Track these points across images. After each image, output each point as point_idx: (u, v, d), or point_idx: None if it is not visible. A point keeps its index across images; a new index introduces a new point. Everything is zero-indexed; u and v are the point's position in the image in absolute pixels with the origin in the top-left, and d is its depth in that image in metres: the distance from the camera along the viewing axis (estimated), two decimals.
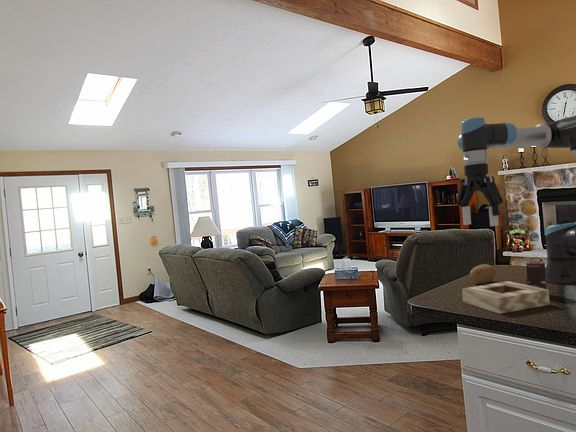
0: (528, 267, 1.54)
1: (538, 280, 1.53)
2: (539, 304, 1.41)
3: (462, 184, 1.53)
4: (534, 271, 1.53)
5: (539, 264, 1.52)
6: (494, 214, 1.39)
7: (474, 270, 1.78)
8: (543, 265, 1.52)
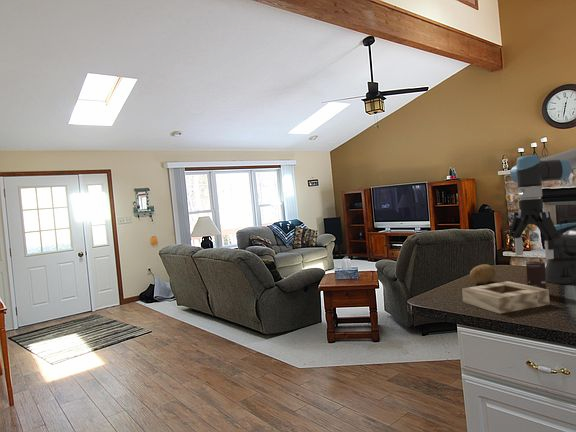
0: (528, 267, 1.54)
1: (538, 280, 1.53)
2: (539, 304, 1.41)
3: (515, 217, 1.60)
4: (534, 271, 1.53)
5: (539, 264, 1.52)
6: (550, 248, 1.47)
7: (474, 270, 1.78)
8: (543, 265, 1.52)
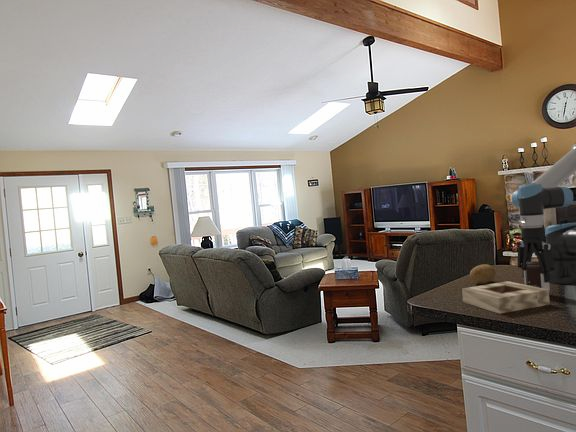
0: (528, 267, 1.54)
1: (538, 280, 1.53)
2: (539, 304, 1.41)
3: (519, 246, 1.60)
4: (534, 271, 1.53)
5: (539, 264, 1.52)
6: (546, 281, 1.50)
7: (474, 270, 1.78)
8: None
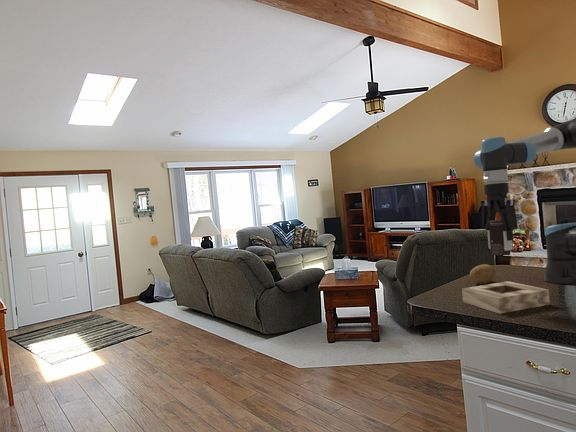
0: (491, 225, 1.47)
1: (501, 238, 1.45)
2: (539, 304, 1.41)
3: (482, 205, 1.52)
4: (496, 229, 1.46)
5: (502, 222, 1.45)
6: (508, 239, 1.43)
7: (474, 270, 1.78)
8: None
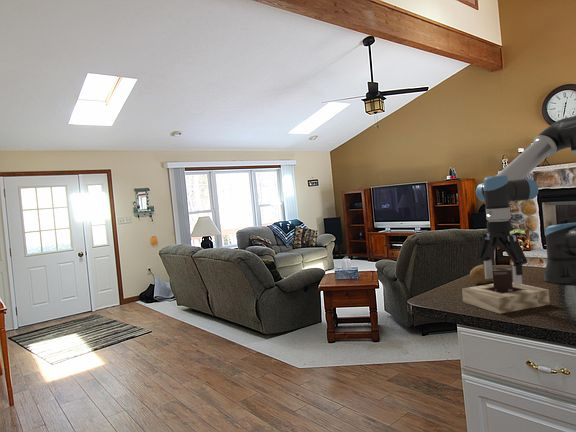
0: (495, 274, 1.47)
1: (505, 288, 1.46)
2: (539, 304, 1.41)
3: (484, 238, 1.53)
4: (500, 279, 1.46)
5: (506, 271, 1.45)
6: (518, 273, 1.40)
7: (474, 270, 1.78)
8: (510, 272, 1.45)
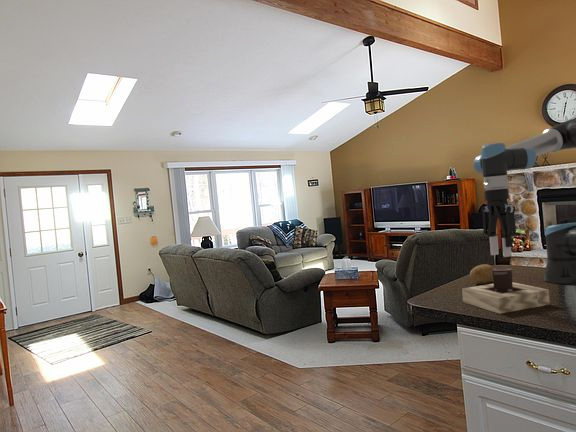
0: (495, 274, 1.47)
1: (505, 288, 1.46)
2: (539, 304, 1.41)
3: (483, 211, 1.52)
4: (500, 279, 1.46)
5: (506, 271, 1.45)
6: (507, 245, 1.43)
7: (474, 270, 1.78)
8: (510, 272, 1.45)
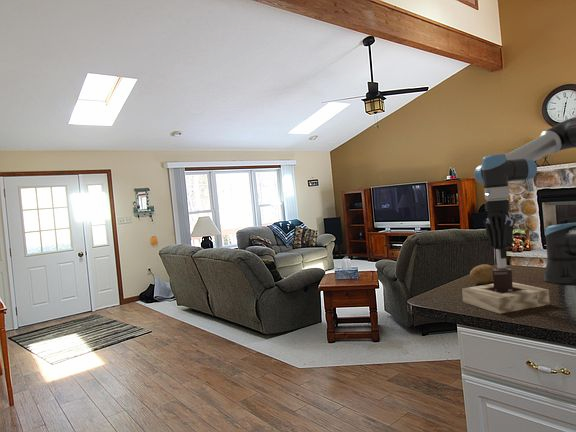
0: (495, 274, 1.47)
1: (505, 288, 1.46)
2: (539, 304, 1.41)
3: (485, 224, 1.52)
4: (500, 279, 1.46)
5: (506, 271, 1.45)
6: (502, 257, 1.46)
7: (474, 270, 1.78)
8: (510, 272, 1.45)
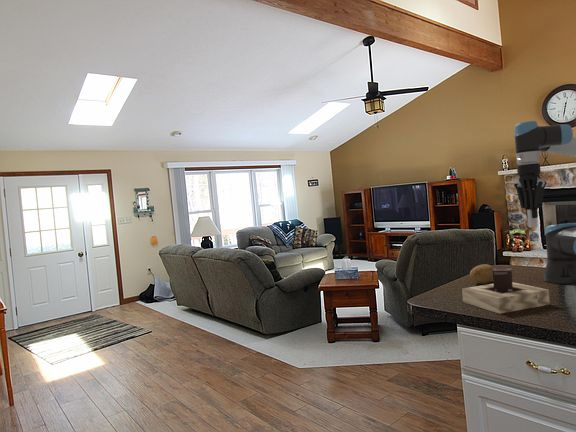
0: (495, 274, 1.47)
1: (505, 288, 1.46)
2: (539, 304, 1.41)
3: (517, 187, 1.63)
4: (500, 279, 1.46)
5: (506, 271, 1.45)
6: (533, 216, 1.58)
7: (474, 270, 1.78)
8: (510, 272, 1.45)
